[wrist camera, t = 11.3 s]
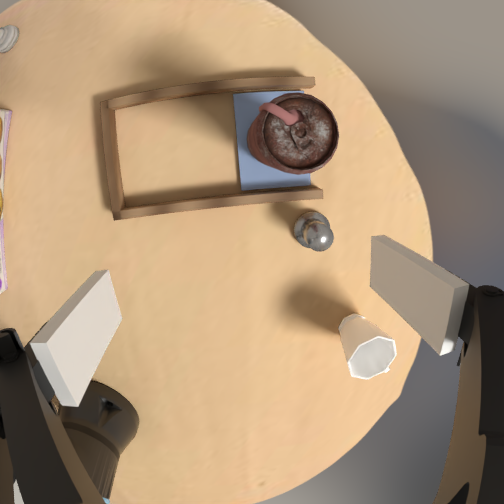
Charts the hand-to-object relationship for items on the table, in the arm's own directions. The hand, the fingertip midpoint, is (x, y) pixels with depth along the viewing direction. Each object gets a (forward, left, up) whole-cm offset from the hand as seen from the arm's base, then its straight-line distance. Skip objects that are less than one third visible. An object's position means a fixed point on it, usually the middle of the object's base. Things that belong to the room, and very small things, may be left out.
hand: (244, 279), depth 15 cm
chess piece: (-31, +30, -22) cm, 49 cm away
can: (+5, +7, -22) cm, 23 cm away
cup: (+16, -20, -22) cm, 34 cm away
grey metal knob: (+9, -4, -22) cm, 24 cm away
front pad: (+5, +7, -22) cm, 24 cm away
